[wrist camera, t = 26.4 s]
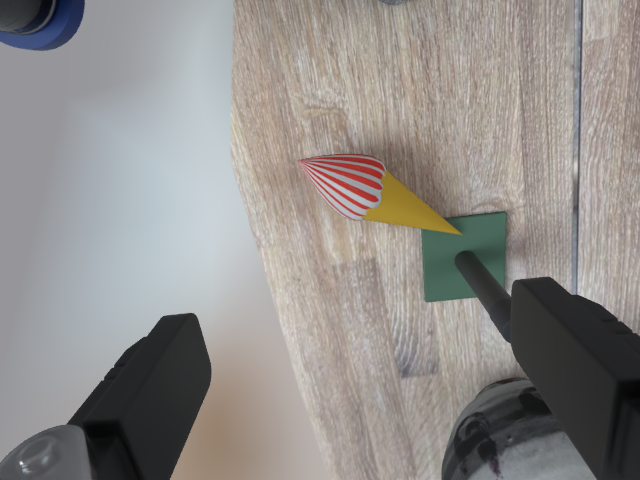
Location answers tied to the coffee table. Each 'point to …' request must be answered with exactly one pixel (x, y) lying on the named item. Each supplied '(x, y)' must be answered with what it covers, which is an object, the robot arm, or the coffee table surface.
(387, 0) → the pen cup
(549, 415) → the ceramic pot
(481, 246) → the felt pad
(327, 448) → the coffee table surface
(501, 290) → the cylinder
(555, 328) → the robot arm
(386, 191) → the ice cream cone
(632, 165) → the coffee table surface
